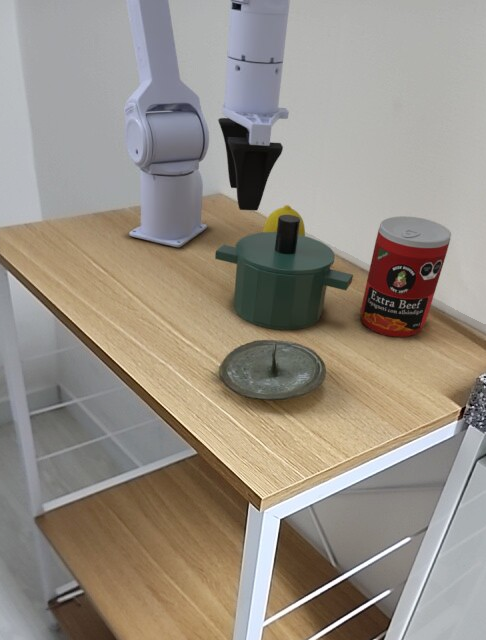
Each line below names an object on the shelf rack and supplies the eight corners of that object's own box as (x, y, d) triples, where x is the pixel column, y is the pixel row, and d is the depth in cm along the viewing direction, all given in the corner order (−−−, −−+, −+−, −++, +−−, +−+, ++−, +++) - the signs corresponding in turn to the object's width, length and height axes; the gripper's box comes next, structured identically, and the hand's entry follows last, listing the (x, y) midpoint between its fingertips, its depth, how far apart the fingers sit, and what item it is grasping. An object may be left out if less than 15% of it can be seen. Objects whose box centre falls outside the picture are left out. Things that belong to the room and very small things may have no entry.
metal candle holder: (337, 404, 64) (352, 357, 62) (275, 418, 57) (290, 365, 55) (260, 364, 70) (271, 320, 67) (195, 373, 63) (205, 323, 60)
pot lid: (252, 234, 78) (256, 195, 75) (342, 252, 76) (349, 213, 73) (221, 266, 70) (223, 224, 67) (320, 288, 67) (327, 245, 64)
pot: (233, 278, 82) (237, 227, 78) (352, 308, 78) (363, 256, 74) (198, 310, 74) (200, 255, 70) (328, 344, 70) (339, 289, 66)
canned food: (352, 329, 74) (373, 232, 66) (366, 302, 79) (386, 210, 72) (419, 344, 72) (448, 247, 65) (427, 315, 78) (455, 224, 71)
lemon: (297, 278, 83) (306, 215, 78) (255, 271, 84) (262, 209, 79) (302, 262, 87) (311, 202, 82) (262, 256, 88) (269, 196, 83)
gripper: (308, 74, 60) (289, 221, 69) (280, 50, 71) (267, 180, 80) (234, 69, 59) (224, 218, 68) (217, 45, 70) (211, 177, 79)
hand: (243, 198), depth 74 cm, fingers open, 7 cm apart
